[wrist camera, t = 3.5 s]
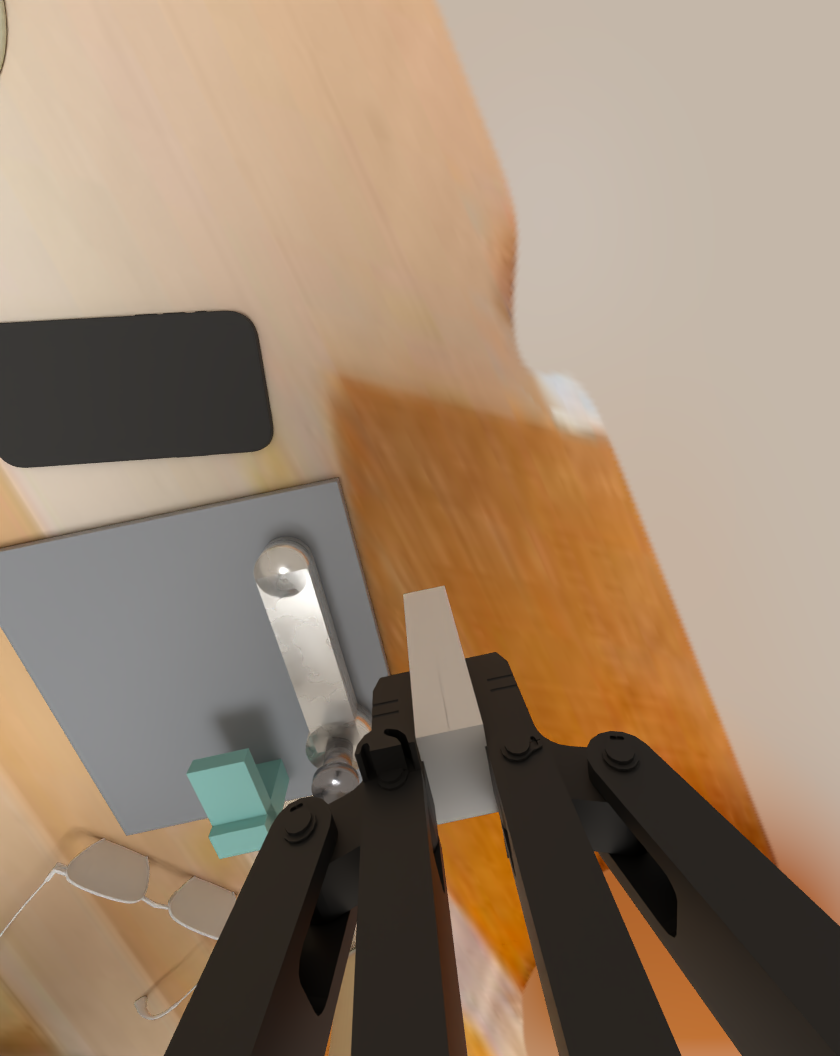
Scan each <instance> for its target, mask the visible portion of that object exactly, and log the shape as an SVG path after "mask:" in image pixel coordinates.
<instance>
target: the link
mask: <svg viewBox="0 0 840 1056" xmlns="http://www.w3.org/2000/svg"><path fill="white" fill-rule="evenodd" d="M254 578H255V581H256V584H257V587H258V589H259V592H260V595H261V598H262V601H263V603H264V606H265V609H266V612H267V615H268V617H269V620H270V623H271V626H272V628H273V631H274V634H275V637H276V640H277V642H278V645H279V648H280V651H281V654H282V656H283V659H284V662H285V665H286V668H287V670H288V673H289V676H290V679H291V682H292V684H293V687H294V690H295V693H296V695H297V698H298V701H299V704H300V707H301V709H302V712H303V715H304V718H305V721H306V723H307V726H308V729H309V732H308V737H307V742H306V754H307V757H308V759H309V761H310V762H311V763H312V764H313V765H314V766H315V767H316V768H318V769H317V771H316V772H315V773H314V776H313V780H312V786H311V791H312V794H313V796H314V797H318V798H322V799H323V800H324V801H325V802H326V803H327V804H329V803H331V802H333V801H335V800H337V799H339V798H341V797H343V796H345V795H346V794H348V793H349V792H351V791H352V790H354V789H355V788H356V787H357V786H358V785H359V774H358V772H357V771H356V770H357V769H359V767H358V764H357V761H356V758H355V755H354V754H355V751H356V747H357V744H358V743H359V742H360V740H361V739H362V738H363V736H364V735H366V734H367V733H369V732H370V731H371V729H372V716H371V714H370V713H369V711H368V710H367V709H366V708H365V707H363V706H362V705H360V704H358V703H357V700H356V696H355V693H354V690H353V687H352V683H351V680H350V677H349V673H348V670H347V667H346V663H345V660H344V657H343V653H342V650H341V647H340V643H339V640H338V637H337V634H336V630H335V627H334V624H333V620H332V617H331V614H330V610H329V607H328V604H327V600H326V597H325V594H324V591H323V587H322V584H321V581H320V577H319V574H318V571H317V567H316V564H315V561H314V557H313V554H312V552H311V550H310V548H309V547H308V546H307V545H306V544H305V543H304V542H303V541H301V540H300V539H297V538H295V537H289V536H284V537H279V538H276V539H274V540H272V541H271V542H270V543H269V544H268V545H267V546H266V547H265V549H264V550H263V552H262V553H261V555H260V557H259V558H258V560H257V561H256V563H255V566H254Z"/></svg>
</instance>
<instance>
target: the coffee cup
mask: <svg viewBox="0 0 840 1056" xmlns="http://www.w3.org/2000/svg"><path fill="white" fill-rule="evenodd" d="M355 952H356V948H355V949H353V950H352V951H351V952H349V956H348V960H347V964H346V968H345V972H344V976H343V980H342V985H341V989H340V993H339V997H338V1001H337V1005H336V1009H335V1014H334V1018H333V1026H332V1034H331V1042H330V1050H329V1056H351V1040H352V1018H353V996H354V974H355Z"/></svg>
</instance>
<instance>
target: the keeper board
mask: <svg viewBox="0 0 840 1056" xmlns="http://www.w3.org/2000/svg"><path fill="white" fill-rule="evenodd" d="M284 536H289V537H295V538H297V539H300V540H301V541H303V542H304V543H305V544H306V545H307V546H308V547H309V548H310V550H311V552H312V554H313V557H314V561H315V564H316V567H317V571H318V574H319V577H320V581H321V584H322V587H323V591H324V594H325V597H326V600H327V604H328V607H329V610H330V614H331V617H332V620H333V624H334V627H335V630H336V634H337V637H338V640H339V643H340V647H341V650H342V653H343V657H344V660H345V663H346V667H347V670H348V673H349V677H350V680H351V683H352V687H353V690H354V693H355V696H356V700H357V703H358V704H360V705H362V706H363V707H365V708H366V709H367V710H368V711H369V713H370V714H371V716H372V707H373V706H372V699H373V690H374V688H375V686H376V684H377V682H378V680H379V679H380V678H381V677H386V676H390V671H389V668H388V664H387V660H386V656H385V652H384V649H383V645H382V641H381V637H380V633H379V630H378V626H377V622H376V618H375V614H374V611H373V607H372V603H371V599H370V595H369V592H368V588H367V584H366V580H365V576H364V573H363V569H362V565H361V561H360V557H359V554H358V550H357V546H356V542H355V538H354V535H353V531H352V527H351V523H350V519H349V516H348V512H347V508H346V504H345V500H344V497H343V493H342V489H341V485H340V481H339V478H334V479H329V480H324V481H319V482H315V483H310V484H305V485H300V486H295V487H291V488H286V489H281V490H276V491H272V492H267V493H262V494H257V495H253V496H248V497H243V498H238V499H233V500H229V501H224V502H219V503H214V504H210V505H205V506H200V507H195V508H190V509H186V510H181V511H176V512H171V513H167V514H162V515H157V516H152V517H147V518H143V519H138V520H133V521H128V522H124V523H119V524H114V525H109V526H105V527H100V528H95V529H90V530H85V531H81V532H76V533H71V534H66V535H62V536H57V537H52V538H47V539H42V540H38V541H33V542H28V543H23V544H19V545H14V546H9V547H4V548H0V627H1V628H2V630H3V632H4V633H5V635H6V637H7V638H8V640H9V642H10V643H11V645H12V647H13V648H14V650H15V651H16V653H17V655H18V656H19V658H20V660H21V661H22V663H23V665H24V666H25V668H26V670H27V671H28V673H29V675H30V676H31V678H32V680H33V681H34V683H35V685H36V686H37V688H38V690H39V691H40V693H41V695H42V696H43V698H44V700H45V701H46V703H47V705H48V706H49V708H50V710H51V711H52V713H53V715H54V716H55V718H56V720H57V721H58V723H59V725H60V726H61V728H62V729H63V731H64V733H65V734H66V736H67V738H68V739H69V741H70V743H71V744H72V746H73V748H74V749H75V751H76V753H77V754H78V756H79V758H80V759H81V761H82V763H83V764H84V766H85V768H86V769H87V771H88V773H89V774H90V776H91V778H92V779H93V781H94V783H95V784H96V786H97V788H98V789H99V791H100V793H101V794H102V796H103V798H104V799H105V801H106V802H107V804H108V806H109V807H110V809H111V811H112V812H113V814H114V816H115V817H116V819H117V821H118V822H119V824H120V826H121V827H122V829H123V831H124V832H125V834H126V836H128V835H132V834H137V833H141V832H146V831H150V830H155V829H160V828H164V827H169V826H173V825H178V824H182V823H187V822H192V821H196V820H201V819H205V818H209V820H210V822H211V824H212V829H211V832H210V835H209V839H210V841H211V843H212V845H213V847H214V849H215V851H216V853H217V855H218V857H219V859H222V858H226V857H231V856H235V855H240V854H245V853H249V852H254V851H258V850H260V849H261V847H262V844H263V842H264V840H265V838H266V836H267V834H268V832H269V829H270V827H271V825H272V824H273V822H274V820H275V819H276V817H277V816H278V814H279V813H280V812H281V811H282V810H283V805H284V801H288V800H292V799H297V798H301V797H306V796H311V795H313V794H312V791H311V786H312V780H313V776H314V773H315V772H316V771H317V769H318V768H316V767H315V766H314V765H313V764H312V763H311V762H310V761H309V759H308V757H307V754H306V742H307V737H308V732H309V729H308V726H307V723H306V721H305V718H304V715H303V712H302V709H301V707H300V704H299V701H298V698H297V695H296V693H295V690H294V687H293V684H292V682H291V679H290V676H289V673H288V670H287V668H286V665H285V662H284V659H283V656H282V654H281V651H280V648H279V645H278V642H277V640H276V637H275V634H274V631H273V628H272V626H271V623H270V620H269V617H268V615H267V612H266V609H265V606H264V603H263V601H262V598H261V595H260V592H259V589H258V587H257V584H256V581H255V578H254V566H255V563H256V561H257V560H258V558H259V557H260V555H261V553H262V552H263V550H264V549H265V547H266V546H267V545H268V544H269V543H270V542H271V541H272V540H274V539H276V538H279V537H284ZM356 771H357V772H358V774H359V784H360V783H361V782H362V776H361V773H360V770H359V769H357V770H356Z"/></svg>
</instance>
